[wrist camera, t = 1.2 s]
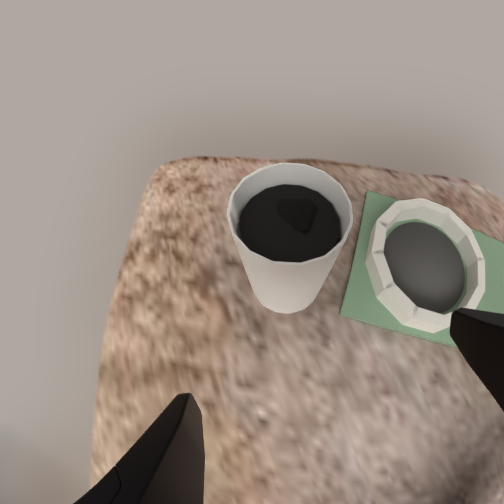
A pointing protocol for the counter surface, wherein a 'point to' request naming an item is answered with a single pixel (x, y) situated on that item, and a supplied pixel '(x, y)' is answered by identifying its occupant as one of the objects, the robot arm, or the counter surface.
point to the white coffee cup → (288, 232)
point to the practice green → (420, 268)
